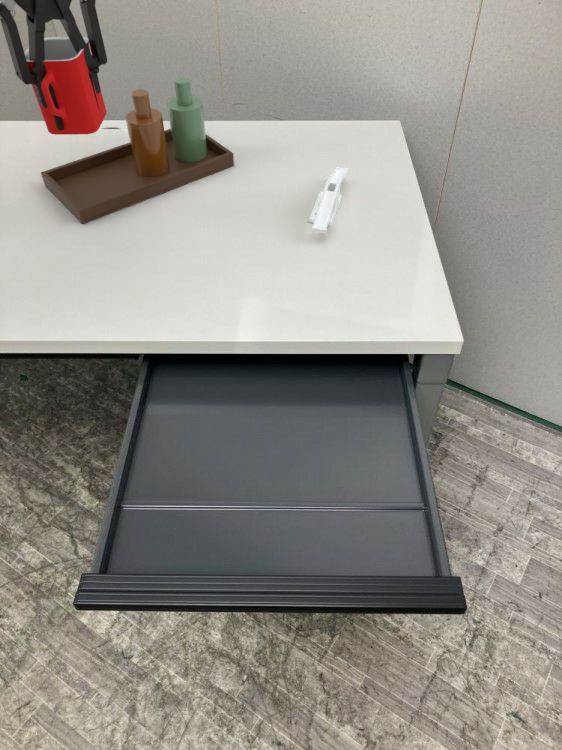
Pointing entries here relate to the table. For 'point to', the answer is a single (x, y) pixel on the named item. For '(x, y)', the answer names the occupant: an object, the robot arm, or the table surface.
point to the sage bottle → (187, 123)
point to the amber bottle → (147, 137)
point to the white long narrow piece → (328, 202)
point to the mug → (68, 89)
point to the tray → (125, 178)
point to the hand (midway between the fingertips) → (76, 120)
